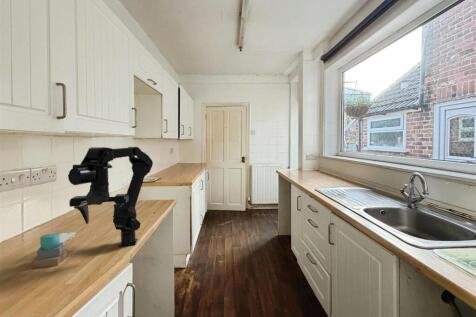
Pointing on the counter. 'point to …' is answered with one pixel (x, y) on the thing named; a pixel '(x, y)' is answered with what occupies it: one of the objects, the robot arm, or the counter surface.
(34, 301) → the counter surface
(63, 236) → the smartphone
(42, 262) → the tower base
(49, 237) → the teal round block
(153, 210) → the counter surface
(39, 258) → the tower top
